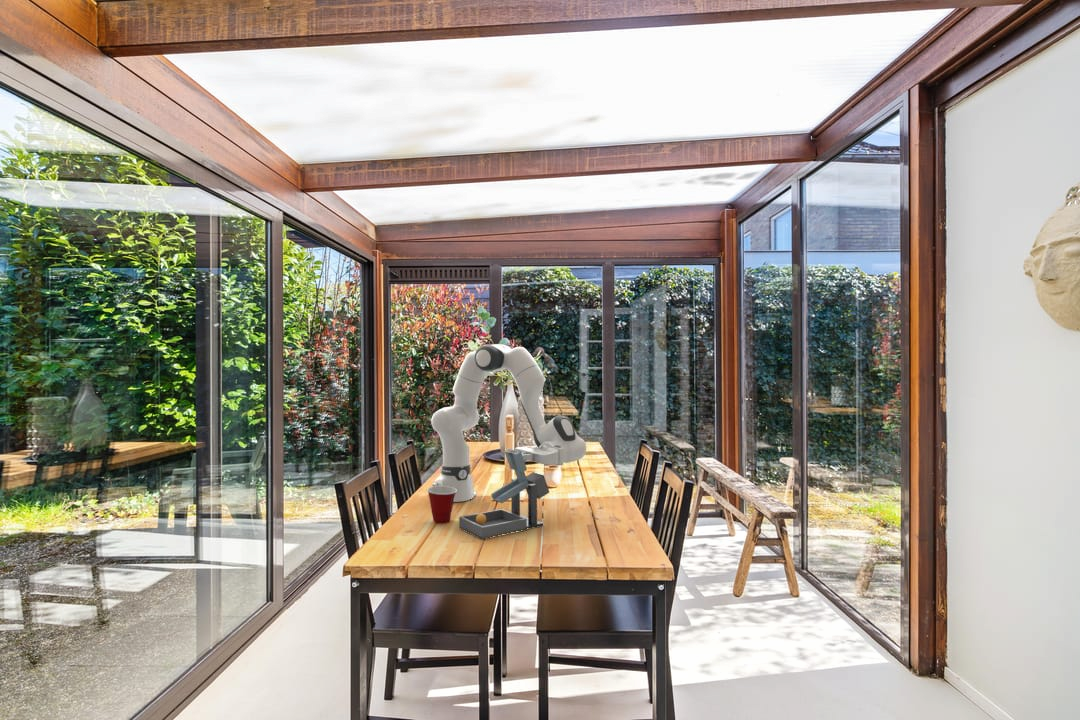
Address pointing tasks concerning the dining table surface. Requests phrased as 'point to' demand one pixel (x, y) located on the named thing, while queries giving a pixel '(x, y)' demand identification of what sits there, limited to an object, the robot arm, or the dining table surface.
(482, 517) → the ball
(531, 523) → the lever stand
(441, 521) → the plastic cup
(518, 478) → the lever
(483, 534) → the tray
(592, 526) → the dining table surface
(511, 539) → the dining table surface
